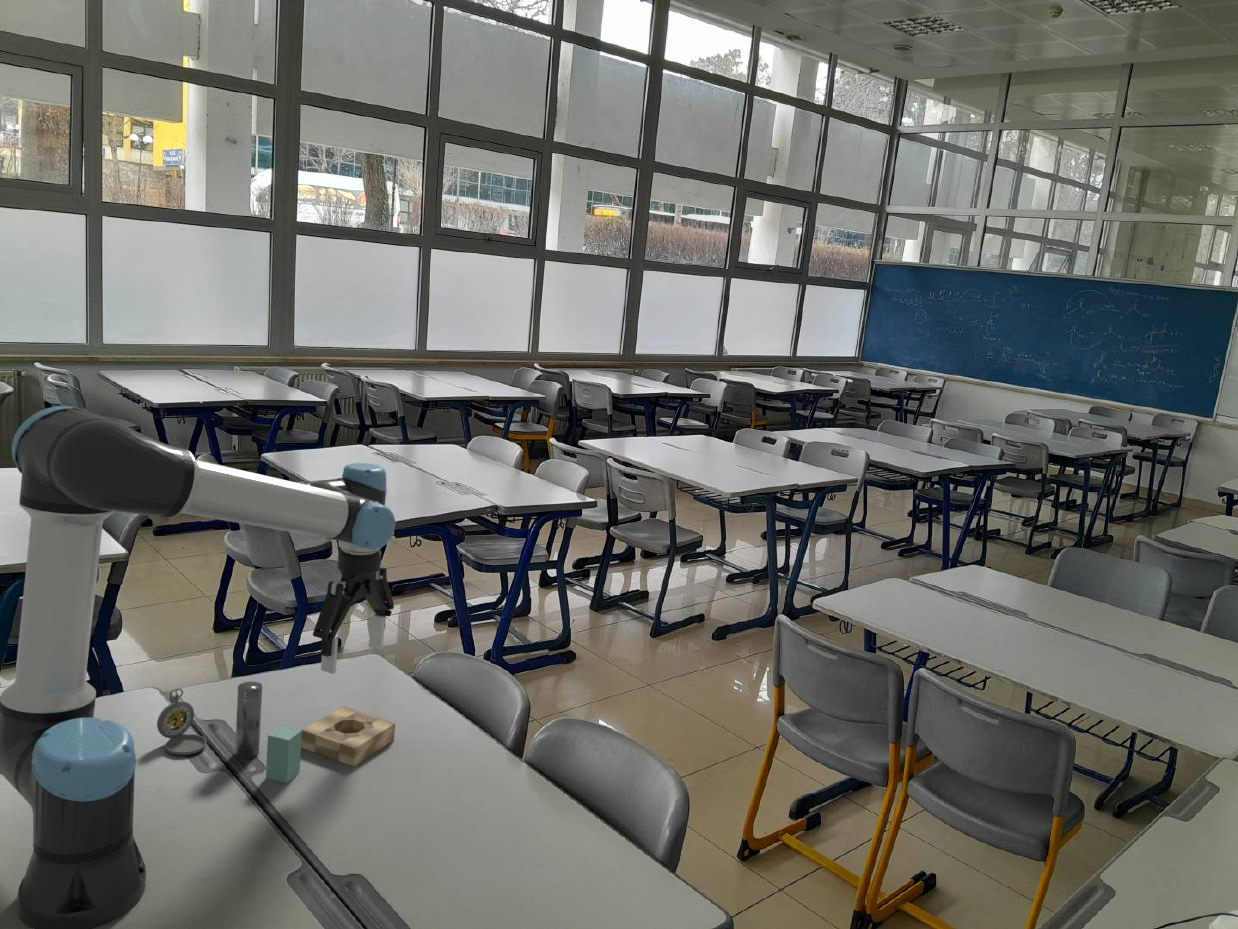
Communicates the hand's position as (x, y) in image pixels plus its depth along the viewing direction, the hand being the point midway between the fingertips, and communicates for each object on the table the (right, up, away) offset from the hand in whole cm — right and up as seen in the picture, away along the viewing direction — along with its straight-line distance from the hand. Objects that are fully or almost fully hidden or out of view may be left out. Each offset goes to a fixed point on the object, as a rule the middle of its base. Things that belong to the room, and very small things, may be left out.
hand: (352, 659), depth 171 cm
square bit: (-9, -18, -10) cm, 23 cm away
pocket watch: (-29, -15, -4) cm, 33 cm away
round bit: (-18, -16, -5) cm, 24 cm away
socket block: (-2, -16, +3) cm, 17 cm away
